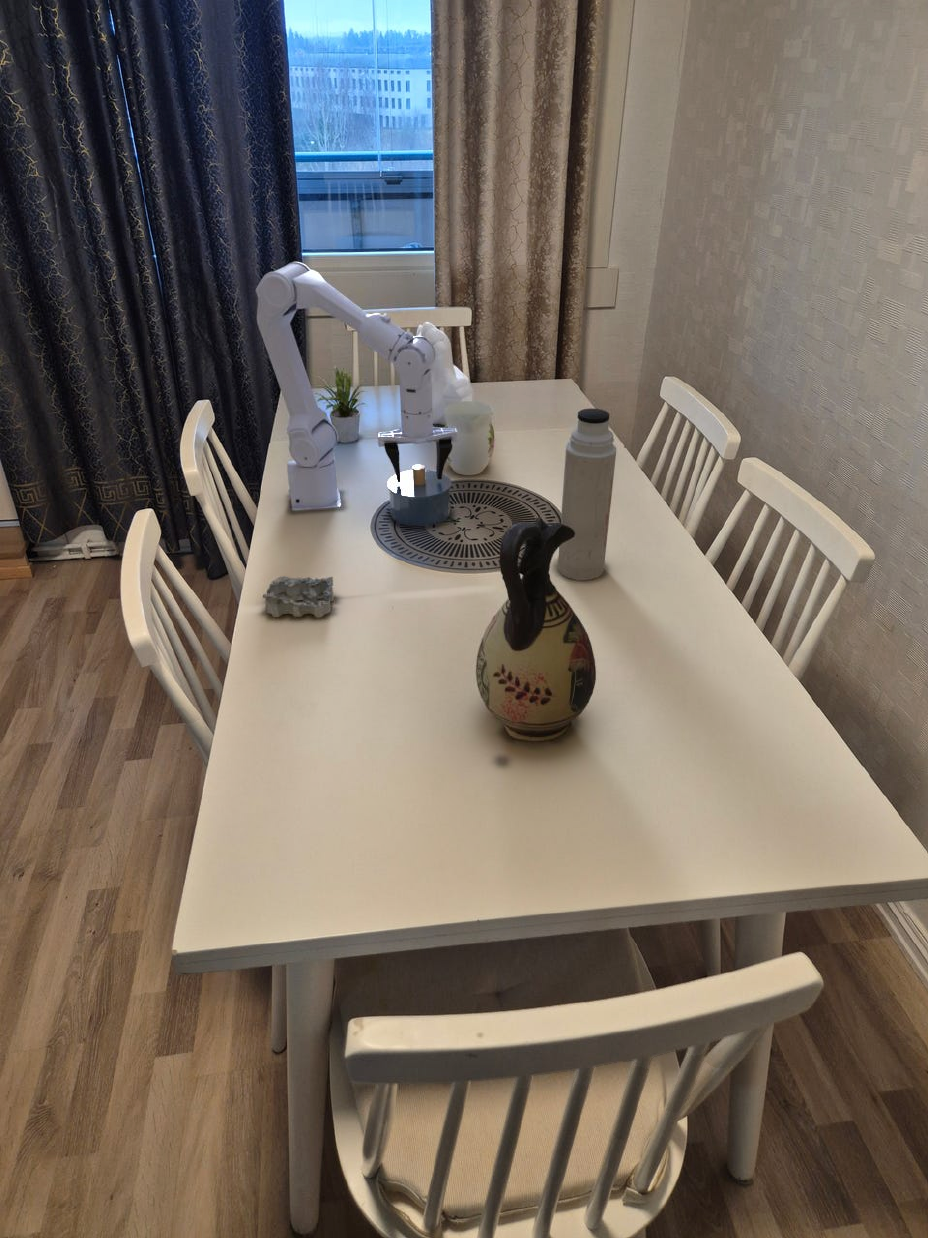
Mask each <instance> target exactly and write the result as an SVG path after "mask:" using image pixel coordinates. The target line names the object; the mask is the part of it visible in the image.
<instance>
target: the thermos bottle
mask: <svg viewBox="0 0 928 1238" xmlns="http://www.w3.org/2000/svg"><path fill="white" fill-rule="evenodd" d="M577 419H578V420H577V426H576V428H574V429H573V430H572V431H571V436H570V438H569V442H567V444H566V446H565V456H564V458H565V459H564V469H563V470H564V471H563V484H562V485H563V486H562V499H561V513H560V514H561V516H560V517H561V521H560V523H561V524H563V525H566V526H568V527H570V528H571V529H572V530H574V532H575V536H574V537H573V538H572V539H570V540H568V541H566V542H564V543H562V544H561V545H560V546H559V547H558V557H557V570H558V572H559V573H560V574H561V575H563V576H564V577H566V578H569V579H572V580H577V581H590V580H595V579H597V578H599V577H600V576H601V575H603V573H604V570H605V563H606V562H605V561H606V554H607V553H606V552H607V544H608V543H607V542H608V536H609V534H608V533H609V524H610V512H611V506H612V496H613V487H614V476H615V468H616V458H617V457H616V456H617V446H616V445H615V444H614V441H615V438H614V433H613V432H612V431H611V430H610V428H609V427H610V421H609V420H610V413H609V412H608V411H606V410H604V409H601V408H594V407H593V408H584V409H581V410H579V411H578V412H577Z"/></svg>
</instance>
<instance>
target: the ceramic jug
mask: <svg viewBox="0 0 928 1238" xmlns="http://www.w3.org/2000/svg"><path fill="white" fill-rule="evenodd" d="M574 536H575V532H574V530H572V529H571V528H570V527H568V526H566V525H563V524H561V522H556V523H554V524H551V525H549V524H547V523H546V522H545V520H543V518H542V517H540V516H538V517H536V518H535V519H534V523H532V522H529V521H522V522H516V523H514V524H512V525H510V526H508V528H507V529H506V530H505V531H504V533H503V535H502V538H501V540H500V547H499V559H498V562H499V563H498V565H499V568H500V574H501V576H502V581H503V582H504V585H505V589H506V592H507V593H506V594H507V597H508V598H507V599H506V600H505V601H504V603H502V606H500V609H499V610H498V611H497V612H496V613H495V615H493V617H492V618H491V621H490V622H489V623H488V625H487V627H486V629H485V631H484V633H483V636H482V637H481V640H480V644H479V646H478V650H477V655H476V663H475V678H476V685H477V689H478V692H479V695H480V698H481V699H482V702H483V703H484V705H485V707H486V709H487V710H488V711H489V712H490V713H492V715H494V716H495V717H496V718H497V719H498V720H499V721H501V723H502V726H503V727H504V729H505V731H506V732H507V734H508V735H509V736H510V737H511V738H513V739H516V740H523V741H528V742H542V741H549V740H551V741H552V740H555V739H556V738H559V737H560V736H561V735H563V734H565V733H566V732H567V731H568V730H569V729H570V728H571V727H572V725H573V724H572V723H573V721H574V720H576V719H577V718H578V717H579V716H580V715H581V714H582V713H583V711H584V710H585V708H586V707H587V706H588V704H589V702H590V700H591V698H592V696H593V694H594V690H595V685H596V682H597V681H596V680H597V668H596V660H595V654H594V650H593V646H592V642H591V640H590V637H589V634H588V632H587V630H586V628H585V626H584V625H583V623H582V622H581V619H580V618H579V617H578V615H577V614H576V613H575V611H574V609H573V608H572V607H571V605H570V603H569V602H568V601H567V600H566V599H565V597H564V596H563V595H562V594H561V593H560V592H559V591H558V590H557V588H556V586H555V585H554V584H553V581H552V580H551V575H550V569H551V563H552V559H553V558H554V557H553V556H554V554H555V553H556V551H557V550H558V549H559V546H560V545H561V544H562V543H564V542H566V541H568V540H570V539H572V538H573V537H574ZM524 544H525V545H524ZM523 545H524V549H523V551H522V553H521V558H520V562H519V557H520V551H521V548H522V547H523ZM521 575H522V576H521ZM500 761H501V762H503V760H500Z"/></svg>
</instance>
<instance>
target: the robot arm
mask: <svg viewBox="0 0 928 1238" xmlns="http://www.w3.org/2000/svg"><path fill="white" fill-rule="evenodd" d="M255 293H256V296H257V311H256V324H257V327H258V330H259V332H260V336H261V337H262V340H263V343H264V346H265V349H266V351H267V355H268V357H269V360H270V363H271V366H272V368H273V369H272V370H273V371H274V374H275V377H276V380H277V383H278V385H279V389H280V391H281V394H282V397H283V399H284V402H285V405H286V408H287V411H288V414H289V420H288V421H289V422H288V425H287V429H286V433H287V435H288V441H289V445H288V450H289V454H290V456H291V458H292V460H290V461H287V463H286V467H287V468H286V469H287V478H288V480H287V481H288V487H289V488H288V497H289V499H290V504H291V510H292V511H302V510H303V511H305V510H316V509H319V510H320V509H331V508H332V509H333V508H340V507H342V501H341V492H340V490H339V489H338V482H337V481H338V480H337V470H336V459H335V452H334V451H335V450H334V448H335V447H336V446H337V444H338V442H339V441H338V433H337V430H336V428H335V427H334V426H333V425H332V423H331V420H330V418H329V417H328V413H327V412H326V410H324V409H322V408H320V407H319V405H318V402H317V400H316V397H315V395H314V394H315V393H314V391H313V389H312V386H311V383H310V380H309V376H308V373H307V371H306V367H305V365H304V362H303V358H302V356H301V353H300V350H299V347H298V343H297V340H296V337H295V335H294V332H293V329H292V326H291V322H292V320H293V318H294V316H295V314H296V312H297V311H298V310H302V309H312V308H313V309H315V308H318V309H320V310H322V311H323V312H325V313H327V314H328V315H329V316H331V317H333V318H335V319H336V320H338V321H340V322H341V323H343V324H345V325H347V326H349V327H350V328H351V329H354V331H356V332H357V333H358V336H359V340H360V342H361V343H362V344H364V345H365V346H367V347H368V348H369V349H371V350H372V351H374V352H375V353H377V354H378V355H379V356H381V357H383V358H384V359H386V360H387V361H388V362H390V363H392V364H393V368H394V370H395V372H396V374H397V375H398V376H399V397H400V398H399V399H400V402H399V403H400V420H401V421H400V422H401V423H400V425H401V428H398V429H394V430H388V431H385V432H384V431H382V432H377V444H378V447H384V450H385V454H386V455H387V457H388V459H389V461H390V463H391V465H392V467H393V470H394V473H395V475H396V479H397V482H401V474H400V473H401V466H400V449H399V445H404V444H414V445H423V444H426V443H435V446H436V447H435V448H436V466H435V467H436V468H435V471H436V473H437V478H438V480H439V479H442V474H444V473H443V472H444V468H445V465H446V462H447V458H448V456H449V454H450V452H451V450H452V443H451V441H452V442H457V430H456V428H444V427H437V426H436V427H435V426H434V424H433V411H432V408H433V407H432V380H431V369H429V368H430V367H431V366H432V364H433V362H434V360H435V350H434V347H433V345H432V344H431V343H430V342H429V341H428V340H427V339H426V338H425V337H423V336H416V335H414V333H412V331H408V332H407V331H406V330H404V329H403V328H401V327H400V326H398V325H397V324H396V323H394V322H393V321H391V319H392V317H391V316H389V315H388V314H387V313H384V314H383V315H382V313H380V312H375V313H368V312H366V311H365V310H364V309H362V308H361V307H359V306H358V305H357V304H355V302H353V301H351V300H350V299H349V298H347V296H346V295H344V294H343V293H341V292H340V291H339V290H337V289H336V288H335V287H333V286H332V285H331V284H329V283H328V282H327V281H326V280H325V279H324V278H323V277H322V275H321V274H320V273H319V272H318V271H316V270H314V269H310V267H308V265H306V264H305V263H303V262H300V261H292V262H289V263H288V264H286V265H284V266H283V267H281V268H279V269H276V270H274V271H269V272H267V273H265V274H264V275H263V277H262V278H261V280H260V281H259V283H258V285H257V287H256V288H255ZM428 369H429V370H428Z"/></svg>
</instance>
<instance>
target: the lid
mask: <svg viewBox="0 0 928 1238" xmlns="http://www.w3.org/2000/svg"><path fill="white" fill-rule="evenodd" d="M400 474H401V482H397V479H396V474H394V475H393V476H391V477H390V478H389V479H388V480H387V482H386V486H387V487H386V488H387V490H388V492H389V491H390V492H391V493H393V494H394V495H396V496H399V497H403V498H408V499H428V498H433V497H437V496H440V495H443V494H445V493H446V492H448V491H449V490H450V491H451V488H452V483H453V482H452V480H451V478H450V477H449V476H448V475H446V474H444V473H442V479H439V480H438V478H437V473H436V470H429V469H426V466H425V465H424V464H413V466H412V469H410V470H405V471H402V472H401V471H400Z"/></svg>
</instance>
